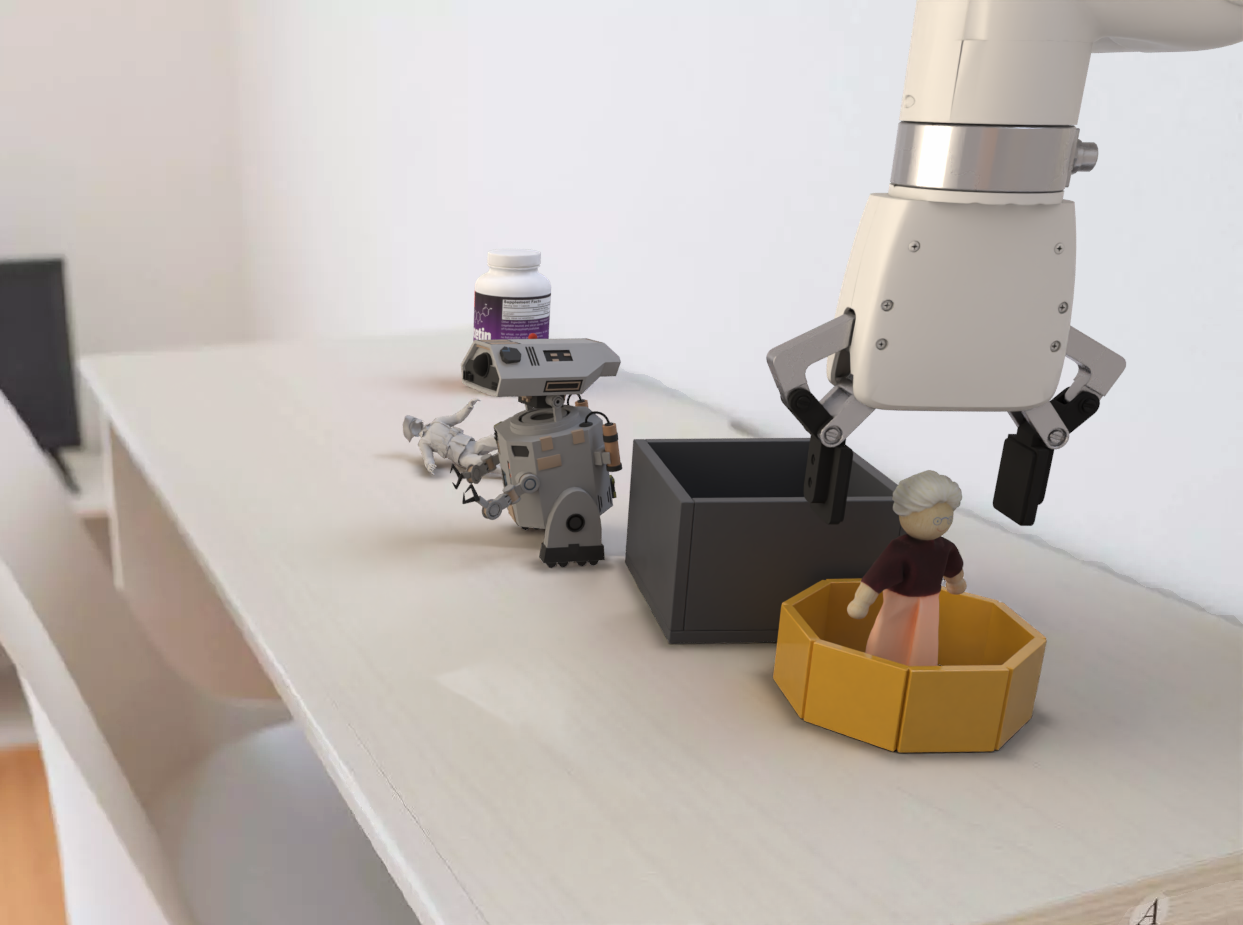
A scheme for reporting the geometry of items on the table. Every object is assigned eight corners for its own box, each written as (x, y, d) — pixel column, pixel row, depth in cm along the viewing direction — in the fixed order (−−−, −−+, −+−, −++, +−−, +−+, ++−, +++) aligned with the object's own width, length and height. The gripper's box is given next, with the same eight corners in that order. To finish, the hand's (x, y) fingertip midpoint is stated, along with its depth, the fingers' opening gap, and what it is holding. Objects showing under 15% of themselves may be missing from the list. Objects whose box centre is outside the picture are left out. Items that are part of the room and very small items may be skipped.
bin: (820, 560, 88) (835, 437, 85) (897, 641, 76) (918, 500, 73) (624, 562, 88) (633, 438, 85) (668, 643, 75) (680, 502, 72)
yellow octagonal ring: (960, 648, 75) (972, 577, 73) (1068, 751, 63) (1085, 669, 62) (753, 650, 74) (761, 579, 73) (824, 754, 63) (835, 671, 61)
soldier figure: (495, 502, 104) (374, 439, 108) (500, 525, 108) (384, 463, 112) (544, 426, 106) (423, 367, 109) (547, 452, 110) (431, 394, 114)
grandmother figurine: (887, 730, 65) (923, 493, 61) (823, 702, 68) (854, 475, 64) (971, 691, 70) (1011, 466, 65) (908, 666, 72) (942, 450, 68)
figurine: (438, 530, 94) (441, 327, 89) (589, 523, 96) (601, 323, 91) (461, 574, 86) (465, 353, 81) (626, 566, 87) (641, 348, 82)
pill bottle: (466, 380, 141) (469, 247, 136) (538, 379, 142) (543, 246, 137) (478, 397, 134) (481, 257, 128) (554, 395, 134) (560, 256, 129)
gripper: (1117, 164, 63) (1048, 496, 69) (769, 159, 62) (730, 493, 68) (1211, 175, 56) (1126, 543, 62) (820, 168, 55) (773, 540, 61)
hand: (918, 516), depth 65 cm, fingers open, 9 cm apart
